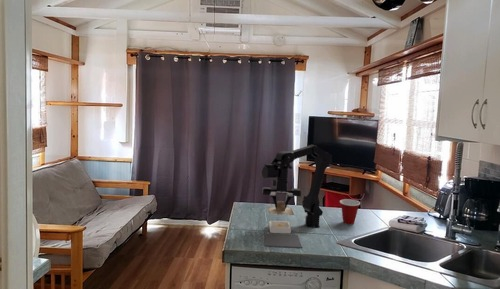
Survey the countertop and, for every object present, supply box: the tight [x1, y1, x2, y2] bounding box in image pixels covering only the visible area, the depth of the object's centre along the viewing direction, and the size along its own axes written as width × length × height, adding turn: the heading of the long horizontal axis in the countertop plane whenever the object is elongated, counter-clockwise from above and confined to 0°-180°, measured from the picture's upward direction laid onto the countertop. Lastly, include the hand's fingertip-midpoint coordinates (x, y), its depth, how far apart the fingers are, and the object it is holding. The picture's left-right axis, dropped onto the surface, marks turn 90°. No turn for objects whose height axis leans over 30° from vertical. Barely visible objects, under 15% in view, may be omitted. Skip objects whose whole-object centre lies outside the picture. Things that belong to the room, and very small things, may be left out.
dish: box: [268, 220, 292, 235], centre depth 183 cm, size 10×10×3 cm
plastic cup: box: [339, 198, 361, 225], centre depth 201 cm, size 11×11×12 cm
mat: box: [263, 232, 303, 249], centre depth 167 cm, size 16×16×1 cm
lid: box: [267, 200, 295, 216], centre depth 182 cm, size 12×12×5 cm
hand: (280, 208), depth 182 cm, fingers closed on lid, 4 cm apart
